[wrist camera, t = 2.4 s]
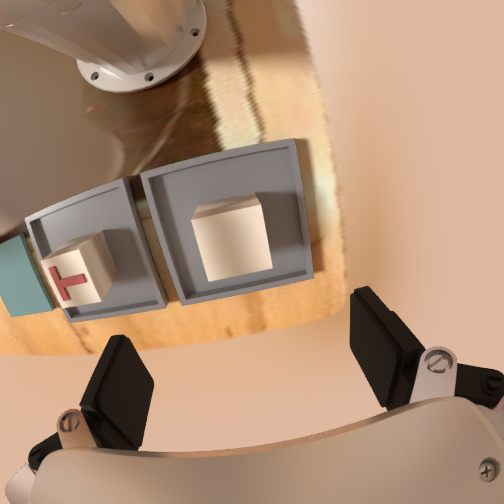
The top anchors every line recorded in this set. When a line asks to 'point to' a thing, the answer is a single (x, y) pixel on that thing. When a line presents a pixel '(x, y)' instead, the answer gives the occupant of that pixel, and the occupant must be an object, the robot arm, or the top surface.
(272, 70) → the top surface
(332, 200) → the top surface
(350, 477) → the robot arm
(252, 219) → the plain cube
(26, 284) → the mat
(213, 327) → the top surface
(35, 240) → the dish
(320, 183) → the top surface
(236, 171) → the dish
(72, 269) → the letter cube
